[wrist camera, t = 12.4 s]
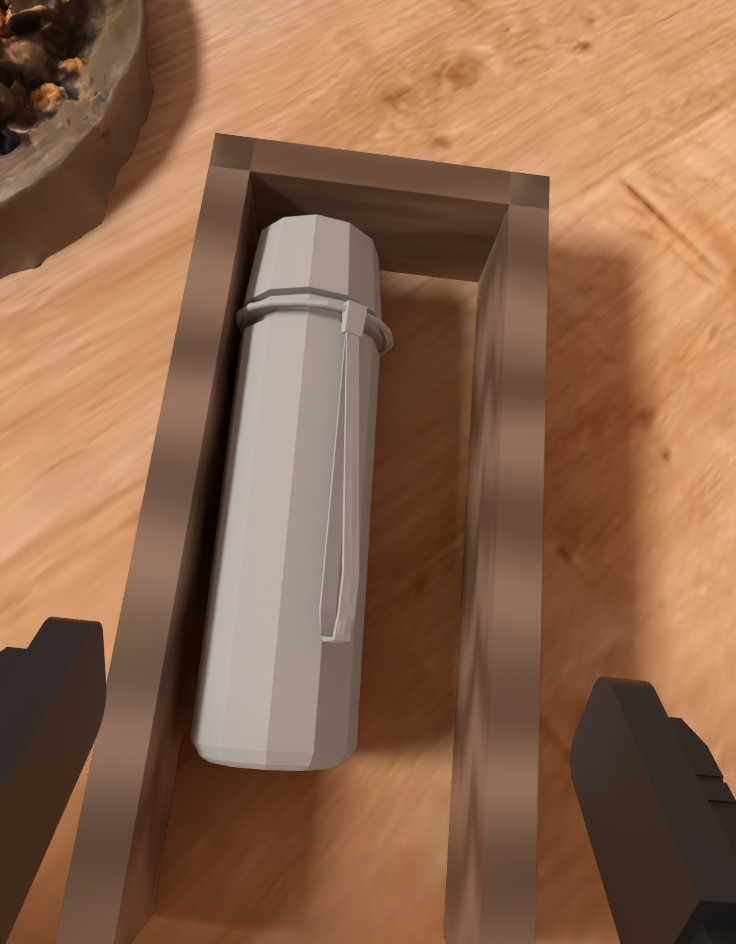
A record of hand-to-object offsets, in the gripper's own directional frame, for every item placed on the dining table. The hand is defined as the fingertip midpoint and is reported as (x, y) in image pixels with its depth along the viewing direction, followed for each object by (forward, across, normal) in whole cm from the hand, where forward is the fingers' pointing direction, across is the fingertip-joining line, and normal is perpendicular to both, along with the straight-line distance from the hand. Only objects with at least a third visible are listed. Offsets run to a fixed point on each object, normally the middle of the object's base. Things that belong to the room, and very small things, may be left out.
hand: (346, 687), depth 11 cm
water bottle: (+11, +1, +16) cm, 20 cm away
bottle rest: (+22, 0, +11) cm, 25 cm away
